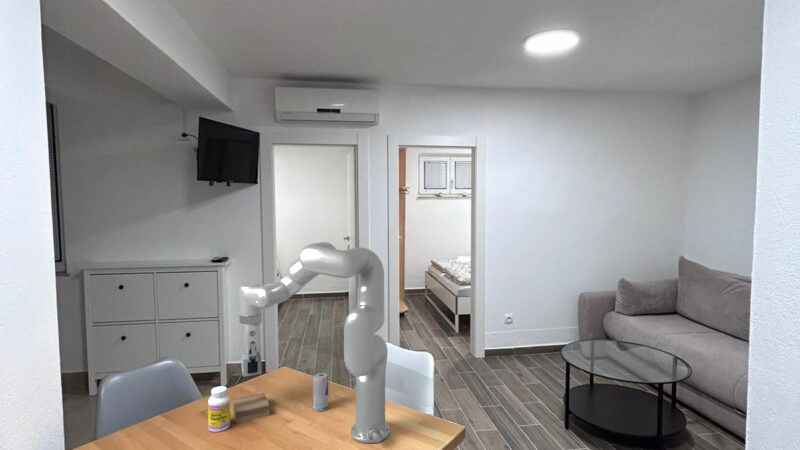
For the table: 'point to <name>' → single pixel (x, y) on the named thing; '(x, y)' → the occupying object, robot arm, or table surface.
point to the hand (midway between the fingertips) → (251, 368)
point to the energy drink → (320, 392)
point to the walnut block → (251, 407)
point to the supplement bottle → (219, 409)
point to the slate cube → (245, 365)
